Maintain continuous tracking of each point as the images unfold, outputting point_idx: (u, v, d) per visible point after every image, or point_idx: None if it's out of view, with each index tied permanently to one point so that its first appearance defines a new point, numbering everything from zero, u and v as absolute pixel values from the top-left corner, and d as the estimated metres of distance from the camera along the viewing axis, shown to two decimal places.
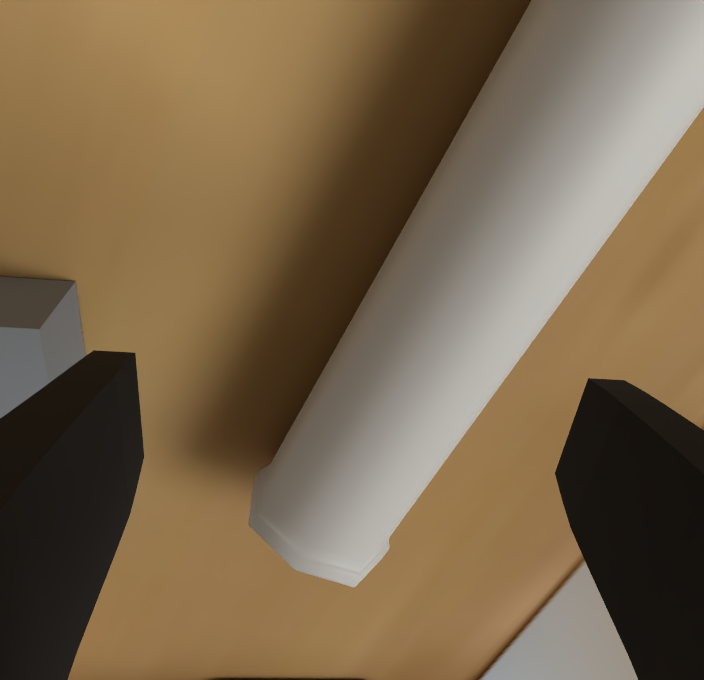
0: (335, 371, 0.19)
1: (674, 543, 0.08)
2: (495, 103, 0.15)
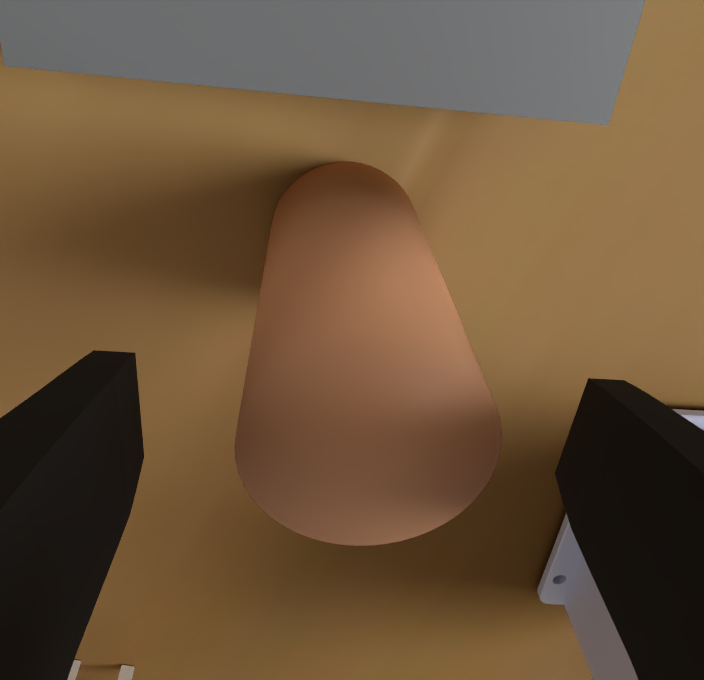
0: None
1: (673, 544, 0.08)
2: None
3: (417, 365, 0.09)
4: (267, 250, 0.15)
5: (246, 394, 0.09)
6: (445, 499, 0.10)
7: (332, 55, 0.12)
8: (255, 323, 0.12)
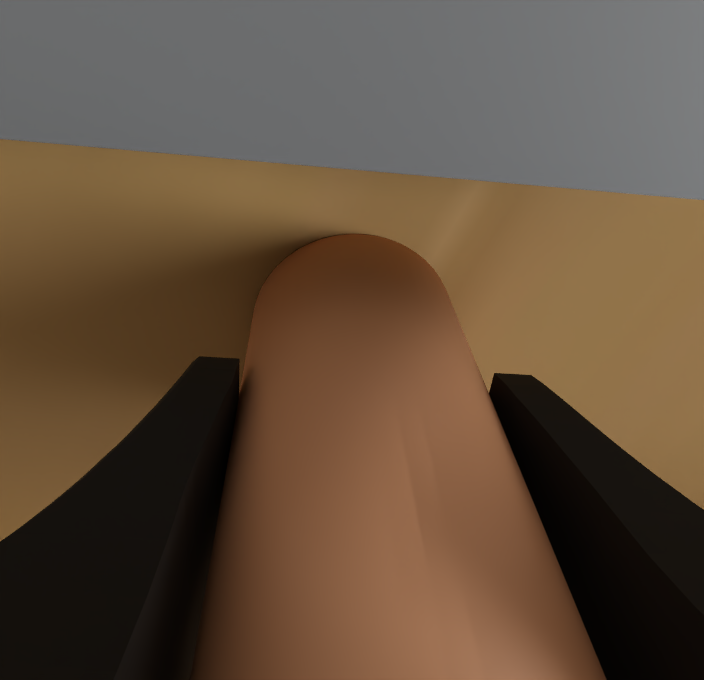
0: None
1: (555, 540, 0.08)
2: None
3: None
4: (243, 372, 0.10)
5: None
6: None
7: (339, 102, 0.08)
8: (213, 549, 0.07)
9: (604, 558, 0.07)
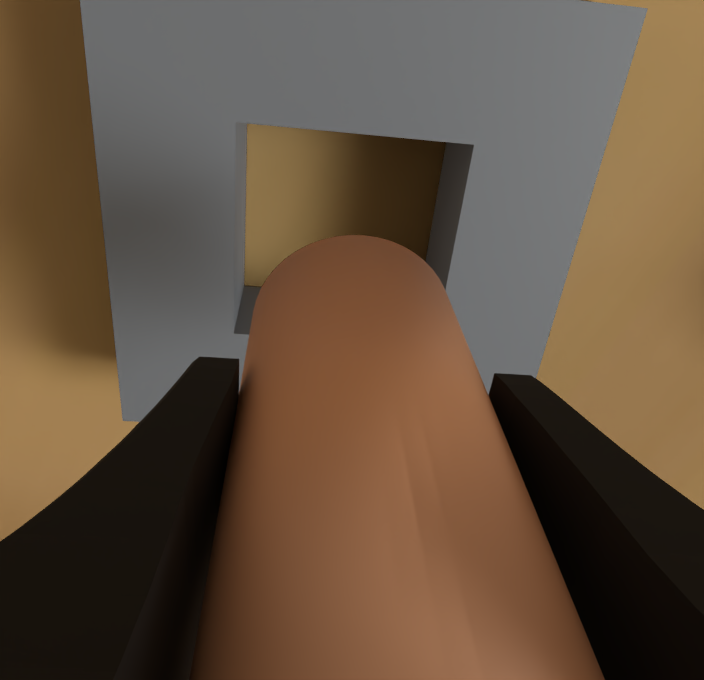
0: None
1: (554, 540, 0.08)
2: None
3: None
4: (242, 373, 0.10)
5: None
6: None
7: None
8: (212, 551, 0.07)
9: (604, 558, 0.07)
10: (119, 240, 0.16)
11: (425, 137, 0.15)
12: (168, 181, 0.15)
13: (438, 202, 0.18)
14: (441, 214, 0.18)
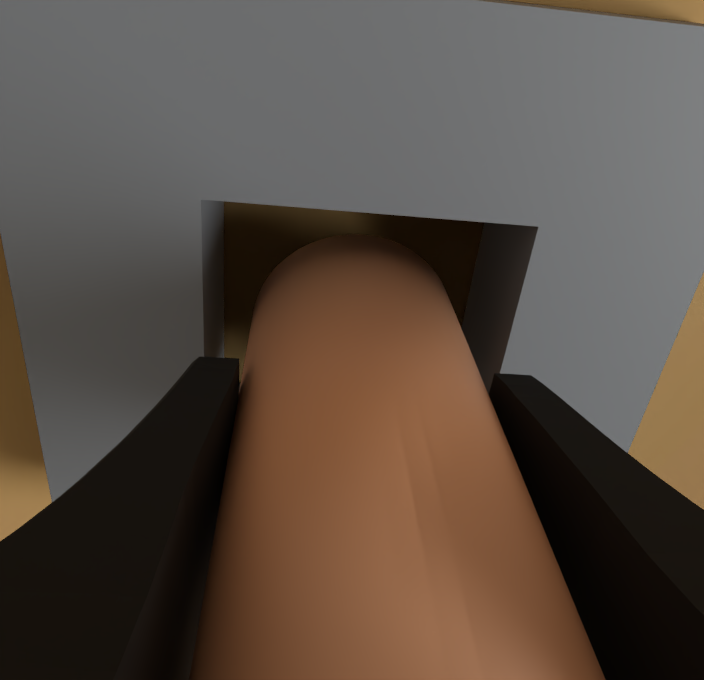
0: None
1: (555, 540, 0.08)
2: None
3: None
4: (242, 373, 0.10)
5: None
6: None
7: None
8: (212, 551, 0.07)
9: (604, 558, 0.07)
10: (44, 354, 0.11)
11: (470, 217, 0.10)
12: (108, 278, 0.11)
13: (476, 282, 0.14)
14: (482, 301, 0.13)
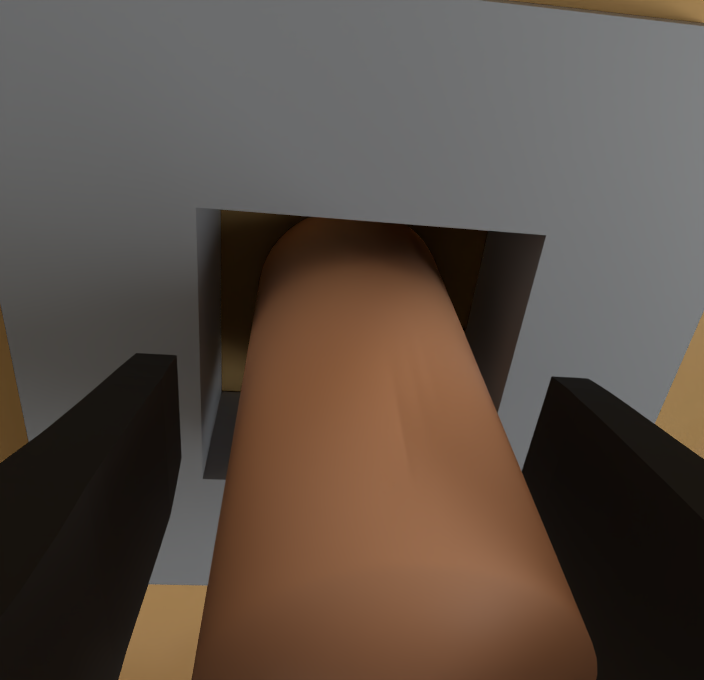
0: None
1: (628, 542, 0.08)
2: None
3: (476, 597, 0.05)
4: (252, 327, 0.11)
5: (207, 621, 0.06)
6: None
7: None
8: (230, 459, 0.08)
9: (688, 560, 0.07)
10: (35, 367, 0.11)
11: (476, 226, 0.10)
12: (100, 289, 0.10)
13: (480, 289, 0.14)
14: (486, 309, 0.13)
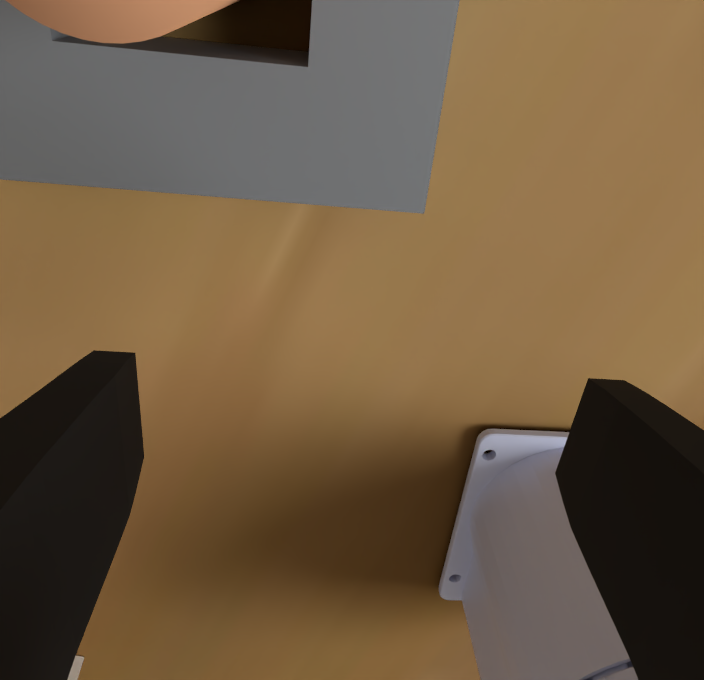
0: None
1: (674, 543, 0.08)
2: None
3: None
4: None
5: None
6: None
7: (194, 163, 0.15)
8: None
9: None
10: None
11: None
12: None
13: None
14: None
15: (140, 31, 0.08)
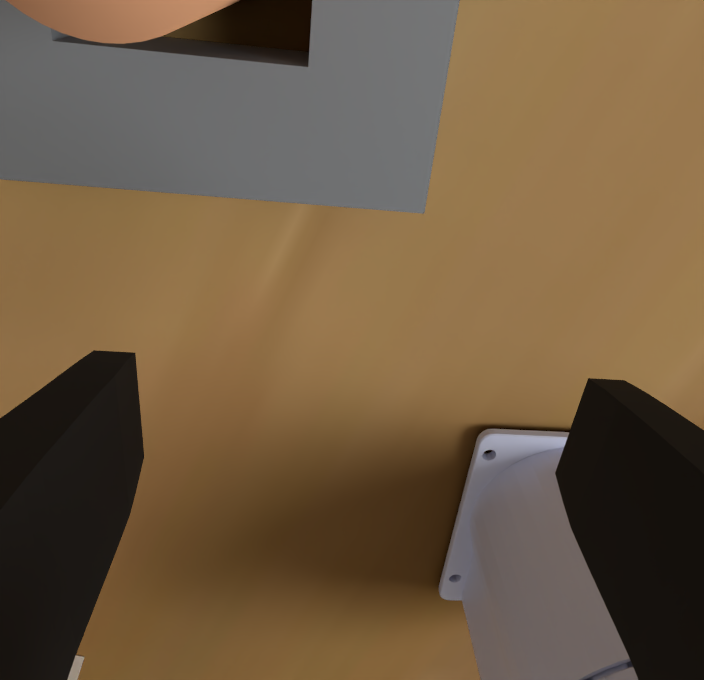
0: None
1: (674, 543, 0.08)
2: None
3: None
4: None
5: None
6: None
7: (194, 163, 0.15)
8: None
9: None
10: None
11: None
12: None
13: None
14: None
15: (141, 31, 0.08)
